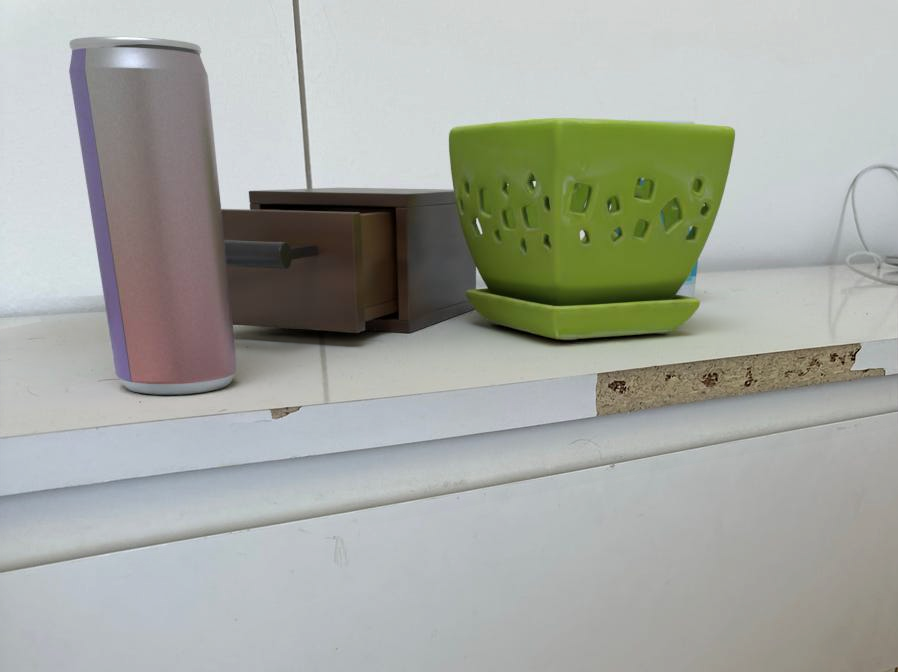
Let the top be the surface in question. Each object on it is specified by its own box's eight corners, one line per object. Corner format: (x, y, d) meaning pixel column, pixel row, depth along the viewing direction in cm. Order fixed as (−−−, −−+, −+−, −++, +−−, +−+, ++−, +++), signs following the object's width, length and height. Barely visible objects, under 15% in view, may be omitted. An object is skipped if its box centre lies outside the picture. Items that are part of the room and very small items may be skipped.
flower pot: (721, 337, 65) (745, 123, 60) (546, 353, 59) (555, 116, 54) (599, 311, 76) (610, 129, 71) (442, 322, 70) (440, 123, 64)
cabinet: (409, 333, 66) (406, 193, 62) (259, 323, 69) (248, 190, 65) (476, 308, 77) (476, 189, 73) (345, 301, 81) (339, 187, 77)
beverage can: (92, 387, 49) (35, 40, 42) (182, 369, 54) (143, 53, 47) (175, 402, 46) (127, 32, 40) (262, 381, 51) (232, 47, 44)
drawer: (320, 345, 56) (312, 216, 53) (166, 334, 59) (151, 212, 56) (432, 308, 70) (431, 206, 67) (305, 301, 73) (298, 203, 70)
